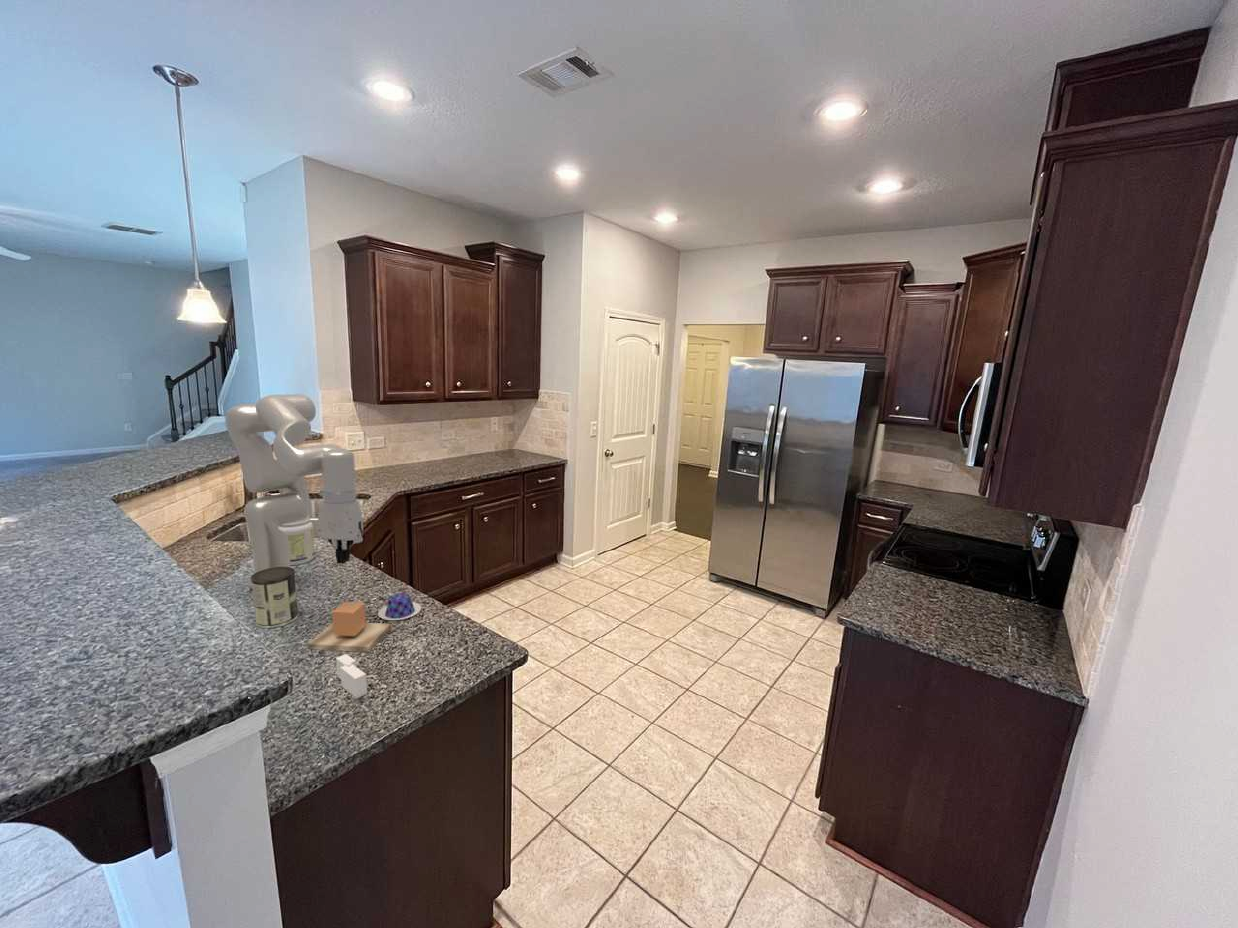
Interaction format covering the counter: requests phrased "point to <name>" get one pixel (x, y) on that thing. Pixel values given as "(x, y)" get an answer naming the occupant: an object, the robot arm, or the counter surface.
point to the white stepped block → (351, 676)
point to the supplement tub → (300, 540)
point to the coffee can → (274, 597)
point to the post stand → (350, 639)
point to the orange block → (349, 619)
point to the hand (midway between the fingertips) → (343, 561)
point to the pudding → (399, 607)
